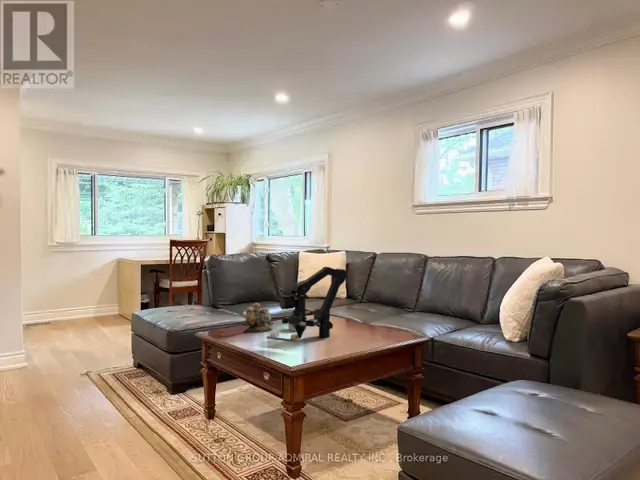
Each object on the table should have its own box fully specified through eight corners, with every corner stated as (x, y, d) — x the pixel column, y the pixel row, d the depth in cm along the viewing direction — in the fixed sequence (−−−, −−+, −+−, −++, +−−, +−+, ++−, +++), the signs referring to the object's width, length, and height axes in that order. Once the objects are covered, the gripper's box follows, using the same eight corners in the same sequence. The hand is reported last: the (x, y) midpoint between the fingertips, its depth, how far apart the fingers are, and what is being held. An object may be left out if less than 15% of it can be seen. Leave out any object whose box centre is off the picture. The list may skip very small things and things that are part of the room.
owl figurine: (246, 336, 244) (245, 305, 244) (238, 333, 255) (238, 303, 254) (276, 333, 253) (276, 303, 253) (268, 329, 264) (267, 300, 263)
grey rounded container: (309, 333, 252) (309, 319, 252) (291, 335, 248) (291, 320, 248) (301, 328, 265) (301, 315, 265) (283, 330, 261) (283, 316, 261)
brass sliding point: (294, 338, 234) (294, 333, 234) (299, 338, 233) (299, 334, 233) (289, 340, 230) (289, 335, 230) (294, 341, 228) (294, 336, 228)
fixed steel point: (274, 335, 241) (274, 331, 241) (279, 336, 239) (279, 332, 239) (268, 338, 236) (268, 333, 236) (272, 338, 234) (272, 334, 234)
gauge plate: (277, 335, 246) (277, 331, 246) (306, 339, 237) (306, 335, 237) (262, 341, 234) (262, 336, 234) (292, 345, 225) (292, 340, 225)
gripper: (276, 308, 227) (276, 339, 228) (308, 311, 219) (308, 343, 219) (287, 305, 237) (287, 335, 237) (318, 308, 229) (318, 338, 229)
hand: (299, 338), depth 230 cm, fingers closed
